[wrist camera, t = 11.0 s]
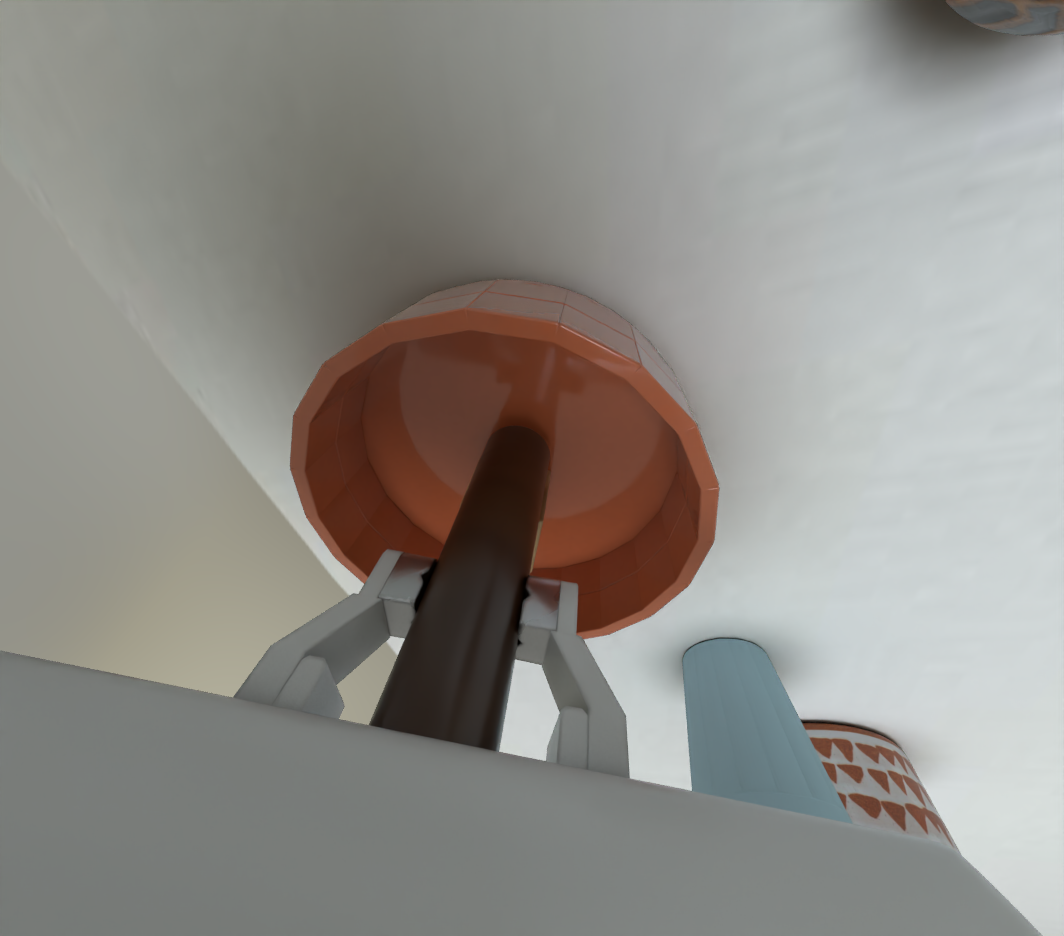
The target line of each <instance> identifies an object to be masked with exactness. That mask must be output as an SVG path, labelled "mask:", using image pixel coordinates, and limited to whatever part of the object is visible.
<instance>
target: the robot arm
mask: <svg viewBox="0 0 1064 936" xmlns="http://www.w3.org/2000/svg"><path fill="white" fill-rule="evenodd" d="M436 564H437V559H435V558H430V557H425V556H420V555H415V554H411V553H406V552H401V551H396V550H390V549H387V550H386V551H385V552H384V553H383V554H382V556H381V557H380V559H379V561H378V562H377V564H376V566H375V567H374V569H373V571H372V572H371V574H370V576H369V577H368V579H367V581H366V582H365V584H364V586H363V587H362V589H361V591H360V592H359V594H354V593H353V594H352V595H350V596H349V597H347V598H345V599H344V600H342V601H341V602H339V603H338V604H336V605H334V606H333V607H331V608H330V609H328V610H326V611H325V612H323V613H322V614H321V615H319V616H317V617H315V618H314V619H312V620H311V621H309V622H307V623H306V624H304V625H303V626H301V627H300V628H298V629H296V630H295V631H293V632H292V633H290V634H288V635H287V636H285V637H284V638H282V639H281V640H279V641H277V642H276V643H274V644H273V645H271V646H270V647H269V649H268V650H267V651H266V653H265V654H264V656H263V657H262V659H261V660H260V661H259V662H258V664H257V665H256V667H255V668H254V669H253V671H252V672H251V674H250V675H249V676H248V678H247V679H246V680H245V682H244V683H243V685H242V686H241V687H240V689H239V690H238V692H237V693H236V694H235V695H234V697H233V698H232V697H227V696H222V695H218V694H213V693H208V692H203V691H198V690H193V689H188V688H183V687H178V686H173V685H168V684H163V683H159V682H154V681H148V680H143V679H139V678H134V677H129V676H124V675H119V674H114V673H109V672H104V671H99V670H94V669H90V668H84V667H80V666H75V665H70V664H64V663H60V662H55V661H50V660H45V659H40V658H35V657H30V656H25V655H20V654H15V653H10V652H5V651H0V936H1042V935H1041V933H1040V932H1039V931H1038V930H1037V929H1036V928H1035V927H1034V926H1033V925H1032V924H1031V923H1030V922H1029V921H1028V920H1027V919H1026V918H1025V917H1024V916H1023V915H1022V914H1021V913H1020V912H1019V911H1018V910H1017V909H1016V908H1015V907H1014V906H1013V905H1012V904H1011V903H1010V902H1009V901H1008V900H1007V899H1006V898H1005V897H1004V896H1003V895H1002V894H1001V893H1000V892H999V891H998V890H997V889H996V888H995V887H994V886H993V885H992V884H991V883H990V882H989V881H988V880H987V879H986V878H985V877H984V876H983V875H982V874H981V873H980V872H979V871H978V870H977V869H975V868H974V867H973V866H972V865H971V864H970V863H969V862H968V861H967V860H966V859H965V858H964V857H963V856H961V855H960V854H959V853H958V852H956V851H955V850H954V849H952V848H950V847H948V846H947V845H945V844H942V843H939V842H936V841H933V840H929V839H925V838H920V837H915V836H910V835H905V834H900V833H895V832H890V831H886V830H881V829H876V828H871V827H866V826H861V825H856V824H851V823H846V822H841V821H836V820H832V819H827V818H822V817H817V816H812V815H807V814H802V813H797V812H792V811H787V810H782V809H778V808H773V807H768V806H763V805H758V804H753V803H748V802H743V801H738V800H733V799H728V798H724V797H719V796H714V795H709V794H704V793H699V792H694V791H689V790H684V789H679V788H674V787H670V786H665V785H660V784H655V783H650V782H645V781H640V780H635V779H630V776H629V759H628V742H627V725H626V715H625V713H624V712H623V710H622V708H621V706H620V705H619V703H618V701H617V699H616V697H615V696H614V694H613V692H612V690H611V688H610V687H609V685H608V683H607V681H606V679H605V678H604V676H603V674H602V672H601V670H600V669H599V667H598V665H597V663H596V662H595V660H594V658H593V656H592V654H591V653H590V651H589V649H588V647H587V645H586V644H585V642H584V640H583V638H582V636H578V635H576V631H577V607H578V585H577V583H571V582H565V581H560V580H557V579H551V578H545V577H539V576H533V575H528V577H527V583H526V588H525V594H524V601H523V605H522V611H521V617H520V622H519V628H518V645H517V650H516V656H515V659H517V660H521V661H526V662H530V663H535V664H540V665H542V668H543V670H544V673H545V676H546V678H547V681H548V683H549V686H550V689H551V691H552V694H553V696H554V699H555V702H556V704H557V707H558V709H559V712H560V714H559V716H558V719H557V722H556V725H555V727H554V730H553V733H552V736H551V738H550V741H549V744H548V747H547V756H546V761H542V760H537V759H532V758H527V757H522V756H517V755H512V754H508V753H503V752H498V751H493V750H488V749H483V748H478V747H473V746H468V745H463V744H458V743H454V742H449V741H444V740H439V739H434V738H429V737H424V736H419V735H414V734H409V733H404V732H400V731H395V730H390V729H385V728H380V727H375V726H370V725H365V724H360V723H355V722H350V721H346V720H340V719H339V717H340V715H341V713H342V711H343V709H344V703H343V700H342V697H341V695H340V693H339V690H338V688H337V686H336V685H337V684H338V683H339V682H340V681H342V680H343V679H344V678H345V677H346V676H347V675H348V674H349V673H351V672H352V671H353V670H354V669H355V668H356V667H357V666H359V665H360V664H361V663H362V662H363V661H364V660H365V659H366V658H368V657H369V656H370V655H371V654H372V653H373V652H374V651H375V650H377V649H378V648H379V647H380V646H381V645H382V644H383V643H385V642H386V641H387V640H388V639H389V638H390V636H394V637H400V638H406V635H407V633H408V630H409V628H410V626H411V623H412V621H413V619H414V616H415V614H416V611H417V609H418V607H419V604H420V602H421V599H422V597H423V595H424V592H425V590H426V588H427V585H428V583H429V580H430V578H431V576H432V573H433V571H434V568H435V566H436Z"/></svg>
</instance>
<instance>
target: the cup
mask: <svg viewBox="0 0 1064 936" xmlns="http://www.w3.org/2000/svg"><path fill="white" fill-rule="evenodd" d="M683 678H684V691H685V704H686V717H687V730H688V743H689V756H690V769H691V782H692V791H694V792H699V793H704V794H709V795H714V796H719V797H724V798H728V799H733V800H738V801H743V802H748V803H753V804H758V805H763V806H768V807H773V808H778V809H782V810H787V811H792V812H797V813H802V814H807V815H812V816H817V817H822V818H827V819H832V820H836V821H841V822H846V823H851V824H853V823H852V821H851V819H850V817H849V815H848V813H847V811H846V809H845V807H844V805H843V803H842V801H841V799H840V797H839V795H838V794H837V792H836V790H835V788H834V786H833V784H832V782H831V780H830V778H829V776H828V774H827V772H826V770H825V768H824V766H823V764H822V762H821V760H820V758H819V756H818V754H817V752H816V750H815V748H814V746H813V744H812V742H811V740H810V738H809V736H808V734H807V732H806V730H805V728H804V726H803V724H802V722H801V720H800V718H799V716H798V714H797V712H796V710H795V708H794V706H793V705H792V703H791V701H790V699H789V697H788V695H787V693H786V691H785V689H784V687H783V685H782V683H781V681H780V679H779V677H778V675H777V673H776V671H775V669H774V667H773V665H772V663H771V661H770V659H769V658H768V656H767V654H766V652H765V651H764V650H763V649H761V648H760V647H759V646H757V645H755V644H753V643H751V642H747V641H743V640H739V639H714V640H709V641H705V642H702V643H699V644H697V645H695V646H693V647H692V648H690V649H689V650H688V651H687V652H686V653H685V655H684V657H683Z"/></svg>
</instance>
